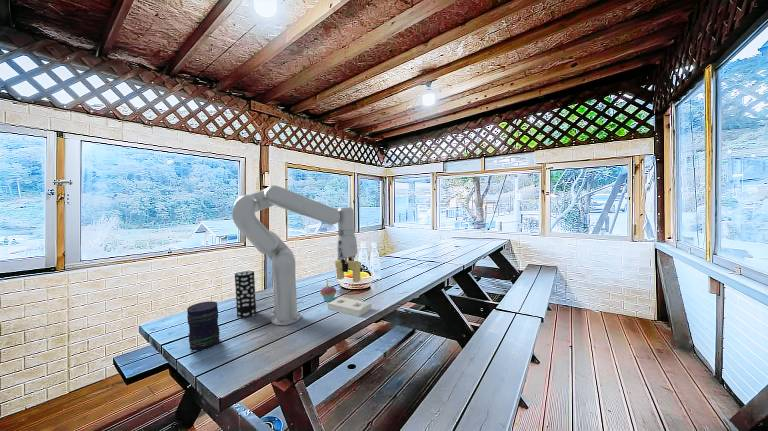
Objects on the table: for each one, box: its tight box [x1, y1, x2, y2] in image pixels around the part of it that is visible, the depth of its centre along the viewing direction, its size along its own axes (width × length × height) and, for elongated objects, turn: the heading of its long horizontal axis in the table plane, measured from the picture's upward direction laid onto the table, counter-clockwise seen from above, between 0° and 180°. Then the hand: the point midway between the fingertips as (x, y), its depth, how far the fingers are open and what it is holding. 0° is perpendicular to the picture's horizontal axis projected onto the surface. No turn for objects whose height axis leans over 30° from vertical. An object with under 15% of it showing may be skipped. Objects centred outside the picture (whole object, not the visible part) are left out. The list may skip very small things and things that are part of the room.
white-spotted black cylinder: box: [234, 270, 257, 319], centre depth 135 cm, size 8×8×20 cm
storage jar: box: [186, 301, 221, 351], centre depth 108 cm, size 10×10×15 cm
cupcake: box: [320, 279, 337, 302], centre depth 152 cm, size 9×8×12 cm
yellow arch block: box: [335, 259, 362, 283], centre depth 137 cm, size 13×3×9 cm, turn 59°
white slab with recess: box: [327, 296, 372, 317], centre depth 139 cm, size 19×10×3 cm, turn 59°
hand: (348, 270), depth 137 cm, fingers closed on yellow arch block, 3 cm apart
